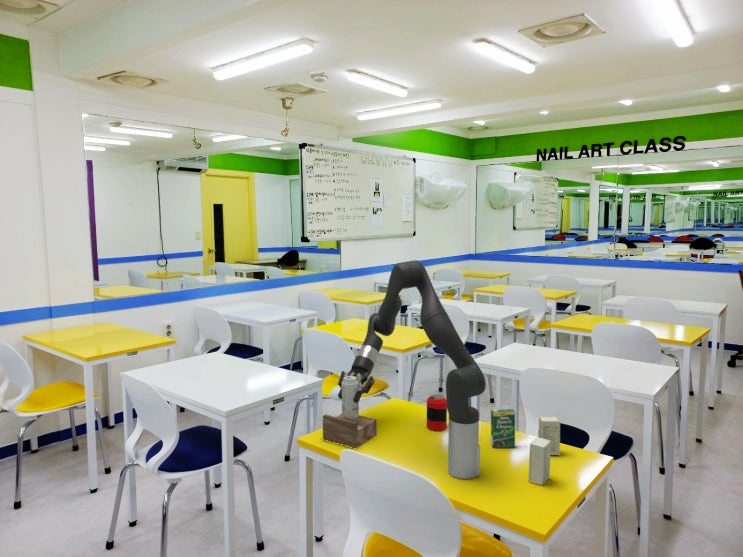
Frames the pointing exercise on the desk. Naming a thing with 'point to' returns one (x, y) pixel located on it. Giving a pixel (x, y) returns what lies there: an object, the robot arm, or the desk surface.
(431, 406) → the soda can
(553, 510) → the desk surface
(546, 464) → the skincare box
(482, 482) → the desk surface
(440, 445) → the desk surface
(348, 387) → the energy drink can
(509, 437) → the coffee box
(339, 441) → the walnut shelf block
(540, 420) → the skincare box
